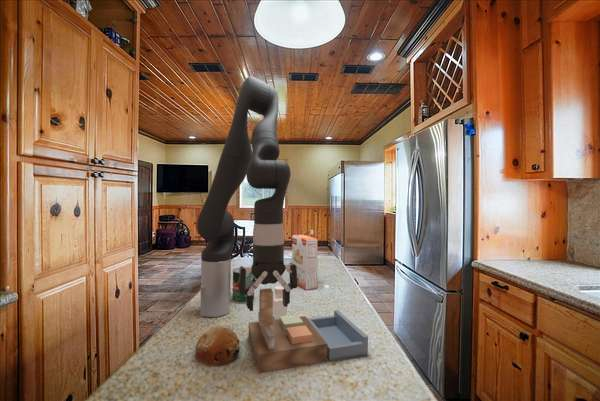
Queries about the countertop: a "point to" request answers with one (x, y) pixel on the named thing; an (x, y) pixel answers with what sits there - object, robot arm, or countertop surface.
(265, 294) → the long tan wooden block
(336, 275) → the countertop surface
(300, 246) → the cracker box
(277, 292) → the pepper shaker
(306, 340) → the terracotta tile
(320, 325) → the tray
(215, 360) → the bread roll
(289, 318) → the sage tile
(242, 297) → the canned tomato
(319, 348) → the board
